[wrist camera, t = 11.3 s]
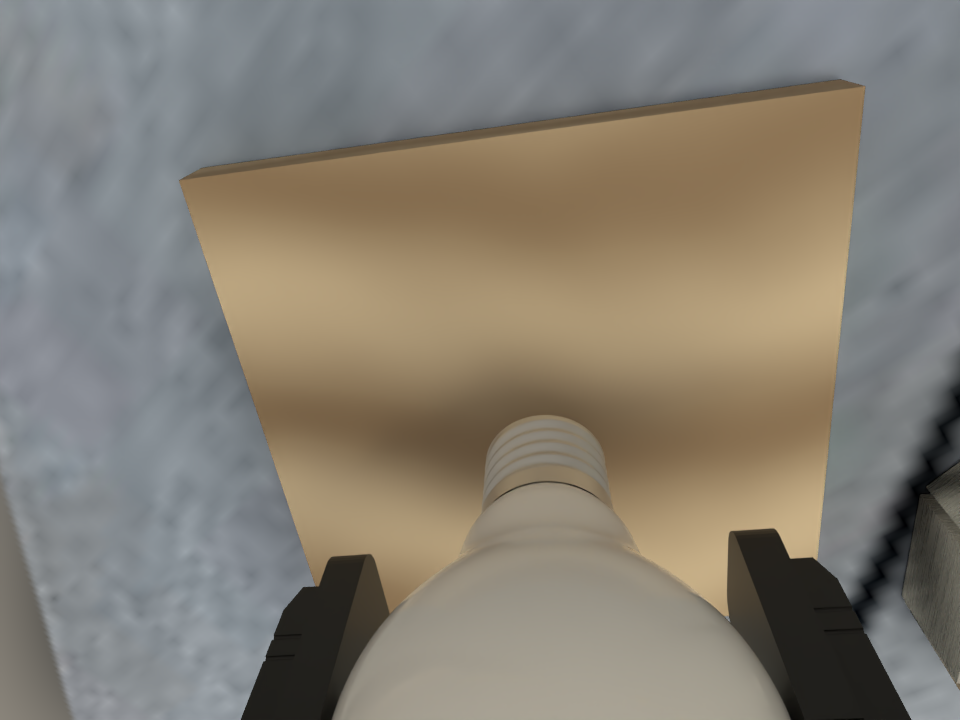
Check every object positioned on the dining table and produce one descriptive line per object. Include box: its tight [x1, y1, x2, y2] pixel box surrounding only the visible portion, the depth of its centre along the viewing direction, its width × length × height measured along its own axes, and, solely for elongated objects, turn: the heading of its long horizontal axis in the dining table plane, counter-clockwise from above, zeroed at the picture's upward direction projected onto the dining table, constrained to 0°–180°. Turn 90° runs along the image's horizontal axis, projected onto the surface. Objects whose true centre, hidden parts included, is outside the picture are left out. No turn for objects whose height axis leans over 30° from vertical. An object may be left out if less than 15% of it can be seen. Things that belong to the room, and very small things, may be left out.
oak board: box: [179, 79, 865, 616], centre depth 18 cm, size 14×14×1 cm
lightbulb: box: [331, 415, 792, 720], centre depth 12 cm, size 6×6×11 cm
